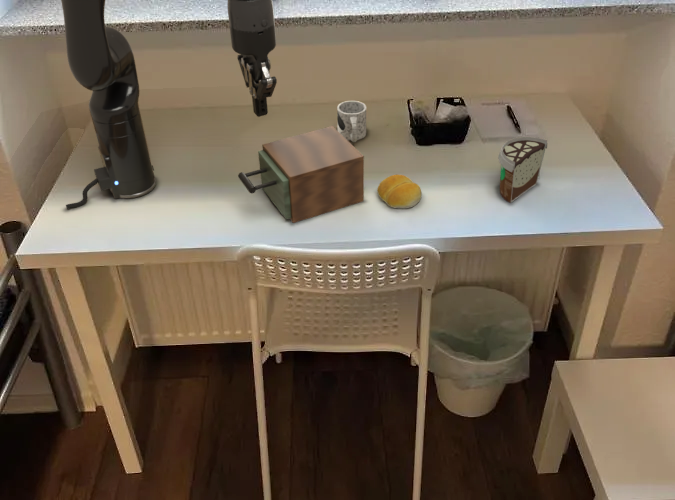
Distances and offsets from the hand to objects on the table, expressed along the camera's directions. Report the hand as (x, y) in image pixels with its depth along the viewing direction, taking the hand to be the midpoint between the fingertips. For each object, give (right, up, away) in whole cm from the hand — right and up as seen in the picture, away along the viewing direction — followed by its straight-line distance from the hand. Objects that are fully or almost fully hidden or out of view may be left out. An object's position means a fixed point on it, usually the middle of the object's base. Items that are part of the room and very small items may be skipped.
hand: (260, 114), depth 128 cm
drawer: (+5, -14, +14) cm, 21 cm away
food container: (+50, -12, +17) cm, 54 cm away
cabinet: (+9, -13, +17) cm, 23 cm away
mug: (+17, +1, +35) cm, 39 cm away
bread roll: (+26, -14, +15) cm, 34 cm away
